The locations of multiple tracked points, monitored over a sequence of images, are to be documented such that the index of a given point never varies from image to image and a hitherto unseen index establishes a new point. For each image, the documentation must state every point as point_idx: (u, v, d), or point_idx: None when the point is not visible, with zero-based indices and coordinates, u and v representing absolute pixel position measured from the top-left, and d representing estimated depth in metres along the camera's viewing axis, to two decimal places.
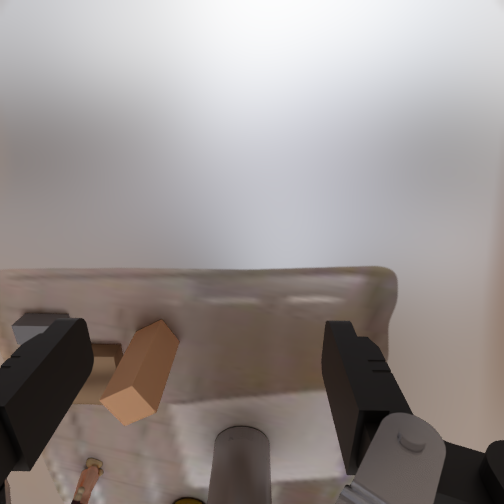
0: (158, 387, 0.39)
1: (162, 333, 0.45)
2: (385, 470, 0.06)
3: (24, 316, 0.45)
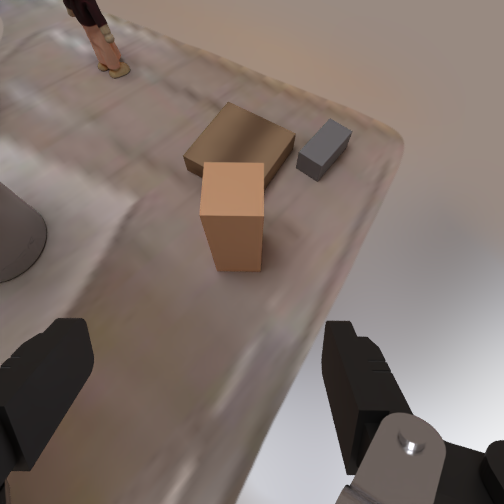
0: (216, 232, 0.25)
1: (249, 265, 0.32)
2: (385, 470, 0.06)
3: (345, 146, 0.39)
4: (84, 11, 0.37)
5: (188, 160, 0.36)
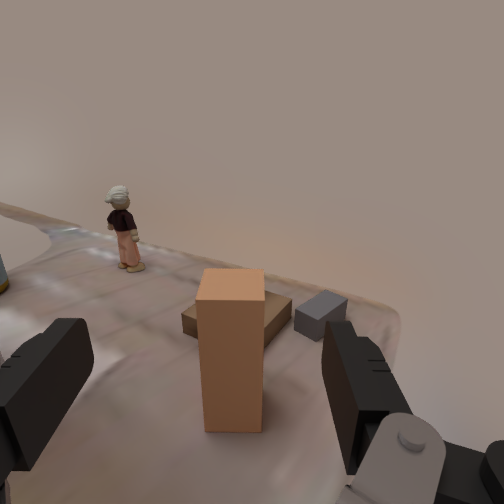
0: (211, 335, 0.22)
1: (247, 414, 0.25)
2: (385, 470, 0.06)
3: (344, 315, 0.39)
4: (121, 220, 0.48)
5: (186, 317, 0.36)
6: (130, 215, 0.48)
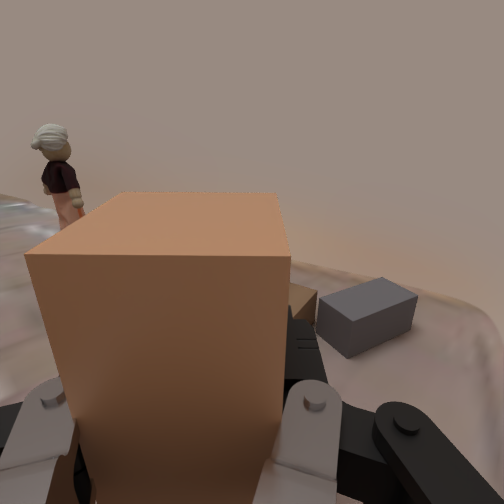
0: (106, 383, 0.07)
1: None
2: (283, 425, 0.07)
3: (408, 322, 0.23)
4: (57, 176, 0.32)
5: None
6: (70, 168, 0.32)
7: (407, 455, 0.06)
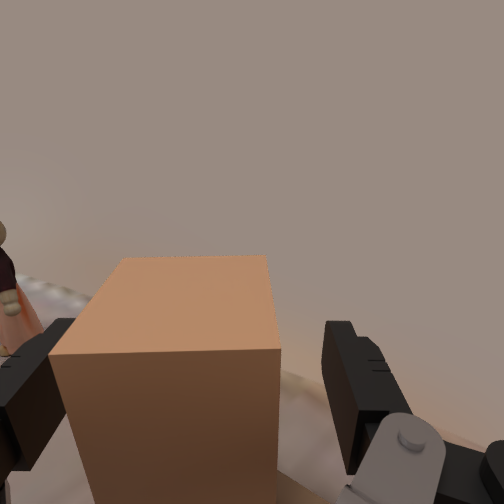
0: (120, 453, 0.07)
1: None
2: (385, 470, 0.06)
3: None
4: None
5: None
6: (2, 261, 0.23)
7: None
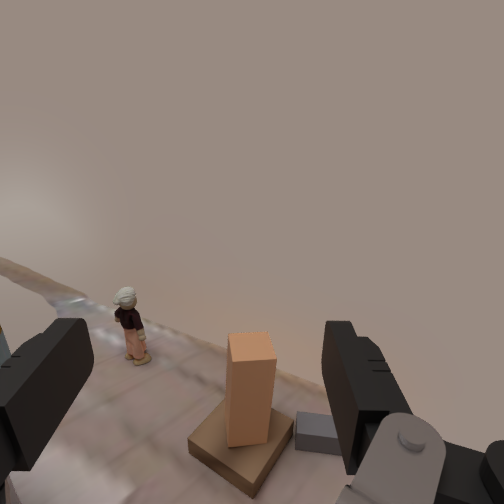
0: (240, 383, 0.33)
1: (258, 432, 0.37)
2: (385, 470, 0.06)
3: None
4: (129, 320, 0.50)
5: (192, 443, 0.38)
6: (137, 314, 0.50)
7: None
